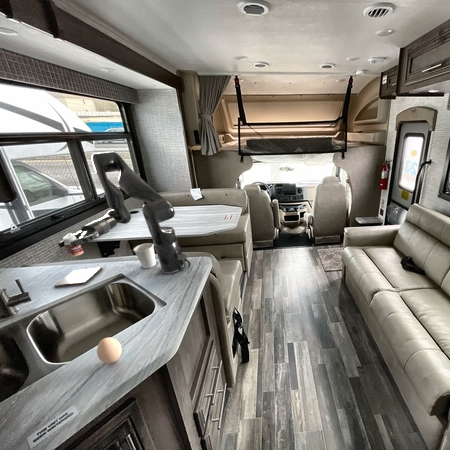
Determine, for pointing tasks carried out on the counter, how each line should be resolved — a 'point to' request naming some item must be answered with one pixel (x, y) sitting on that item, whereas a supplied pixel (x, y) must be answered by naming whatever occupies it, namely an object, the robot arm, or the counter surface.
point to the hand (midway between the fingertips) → (66, 245)
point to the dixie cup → (146, 255)
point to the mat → (78, 277)
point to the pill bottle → (72, 250)
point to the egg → (109, 350)
